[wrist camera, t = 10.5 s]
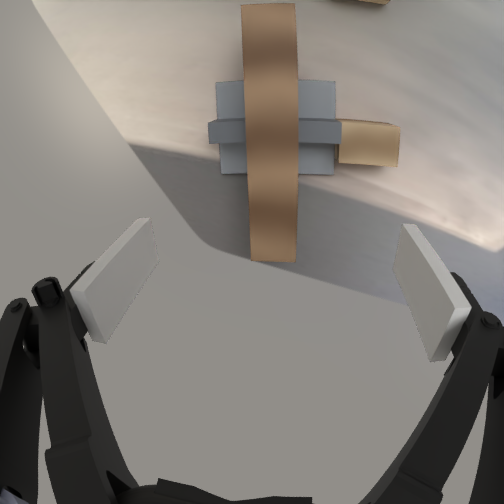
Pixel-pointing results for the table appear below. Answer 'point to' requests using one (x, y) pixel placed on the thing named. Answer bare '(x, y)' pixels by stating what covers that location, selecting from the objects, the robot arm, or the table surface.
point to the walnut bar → (271, 128)
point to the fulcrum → (309, 125)
